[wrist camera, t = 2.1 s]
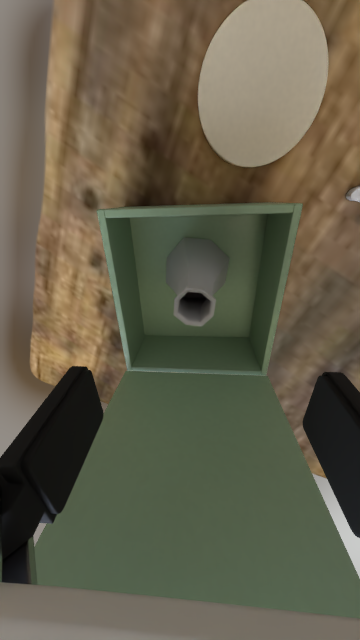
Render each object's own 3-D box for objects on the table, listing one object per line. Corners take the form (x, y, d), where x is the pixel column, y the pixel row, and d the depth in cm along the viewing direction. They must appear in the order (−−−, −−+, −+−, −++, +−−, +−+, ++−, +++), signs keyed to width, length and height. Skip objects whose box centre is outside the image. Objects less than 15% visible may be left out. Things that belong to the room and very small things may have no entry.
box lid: (-8, 626, 9) (-2, 633, 9) (410, 688, 7) (402, 693, 8) (125, 370, 24) (126, 375, 24) (267, 375, 23) (266, 381, 23)
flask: (156, 285, 26) (134, 328, 17) (179, 224, 23) (166, 241, 14) (210, 307, 27) (215, 359, 18) (240, 253, 24) (264, 284, 15)
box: (124, 206, 23) (96, 209, 17) (273, 202, 22) (303, 203, 15) (142, 336, 31) (127, 370, 24) (252, 338, 29) (266, 375, 23)
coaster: (198, 5, 16) (198, -1, 15) (343, -11, 15) (348, -18, 15) (197, 170, 21) (197, 169, 20) (306, 165, 20) (309, 164, 19)
